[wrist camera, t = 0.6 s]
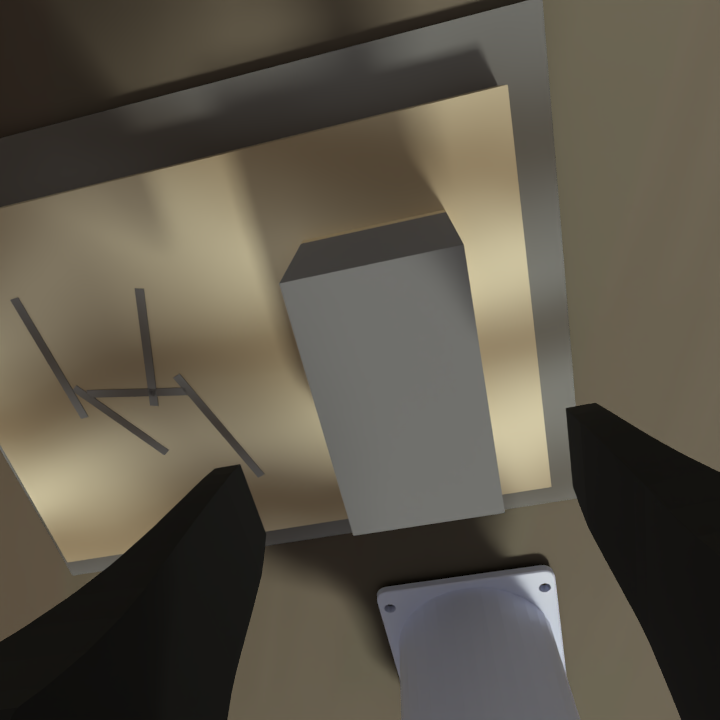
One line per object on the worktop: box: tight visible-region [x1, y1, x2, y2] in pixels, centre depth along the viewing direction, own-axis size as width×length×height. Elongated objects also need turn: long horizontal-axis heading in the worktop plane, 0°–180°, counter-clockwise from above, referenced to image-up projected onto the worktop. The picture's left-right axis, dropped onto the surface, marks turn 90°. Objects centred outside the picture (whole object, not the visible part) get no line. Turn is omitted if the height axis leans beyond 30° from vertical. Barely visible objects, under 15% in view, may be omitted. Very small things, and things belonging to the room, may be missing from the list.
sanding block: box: [279, 210, 505, 536], centre depth 17 cm, size 8×4×4 cm, turn 13°
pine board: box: [0, 0, 577, 575], centre depth 21 cm, size 18×23×2 cm
